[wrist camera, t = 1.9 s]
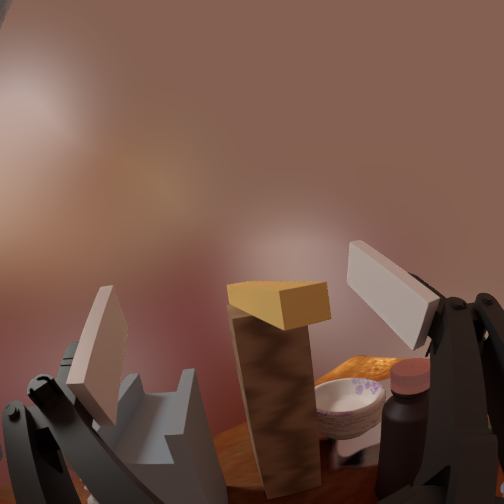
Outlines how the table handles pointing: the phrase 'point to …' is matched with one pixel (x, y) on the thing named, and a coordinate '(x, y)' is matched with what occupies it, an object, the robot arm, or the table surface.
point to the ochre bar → (282, 302)
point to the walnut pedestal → (278, 402)
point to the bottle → (403, 426)
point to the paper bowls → (348, 407)
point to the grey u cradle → (167, 442)
